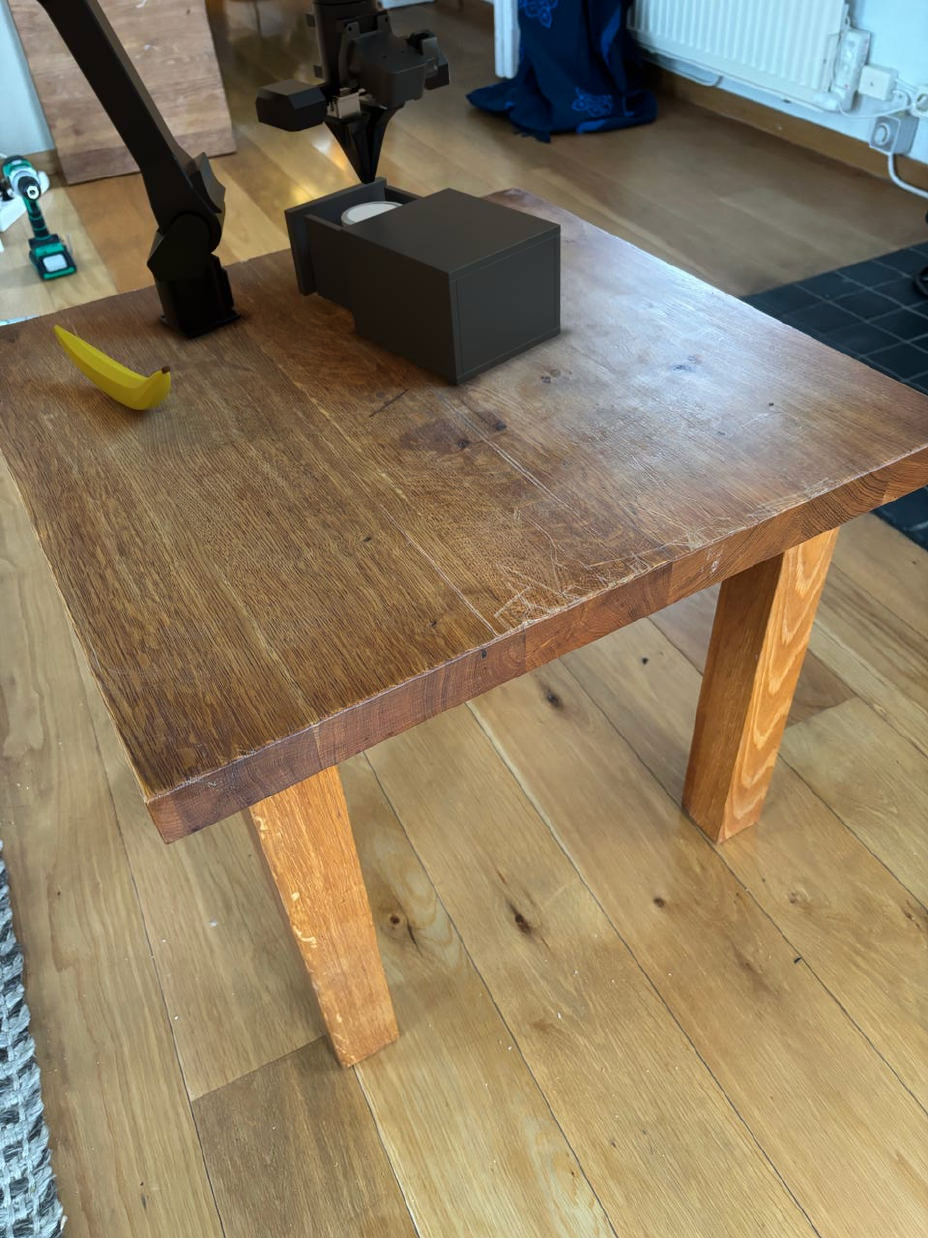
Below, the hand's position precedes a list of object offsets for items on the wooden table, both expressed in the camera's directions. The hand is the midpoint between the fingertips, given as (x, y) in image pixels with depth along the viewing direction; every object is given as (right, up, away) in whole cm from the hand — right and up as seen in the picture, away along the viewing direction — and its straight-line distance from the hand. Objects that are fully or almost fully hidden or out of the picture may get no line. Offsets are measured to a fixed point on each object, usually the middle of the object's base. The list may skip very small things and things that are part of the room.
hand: (367, 182), depth 95 cm
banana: (-22, -23, -4) cm, 32 cm away
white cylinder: (+1, -7, +7) cm, 10 cm away
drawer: (0, -7, +8) cm, 11 cm away
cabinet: (+9, -15, +1) cm, 17 cm away
